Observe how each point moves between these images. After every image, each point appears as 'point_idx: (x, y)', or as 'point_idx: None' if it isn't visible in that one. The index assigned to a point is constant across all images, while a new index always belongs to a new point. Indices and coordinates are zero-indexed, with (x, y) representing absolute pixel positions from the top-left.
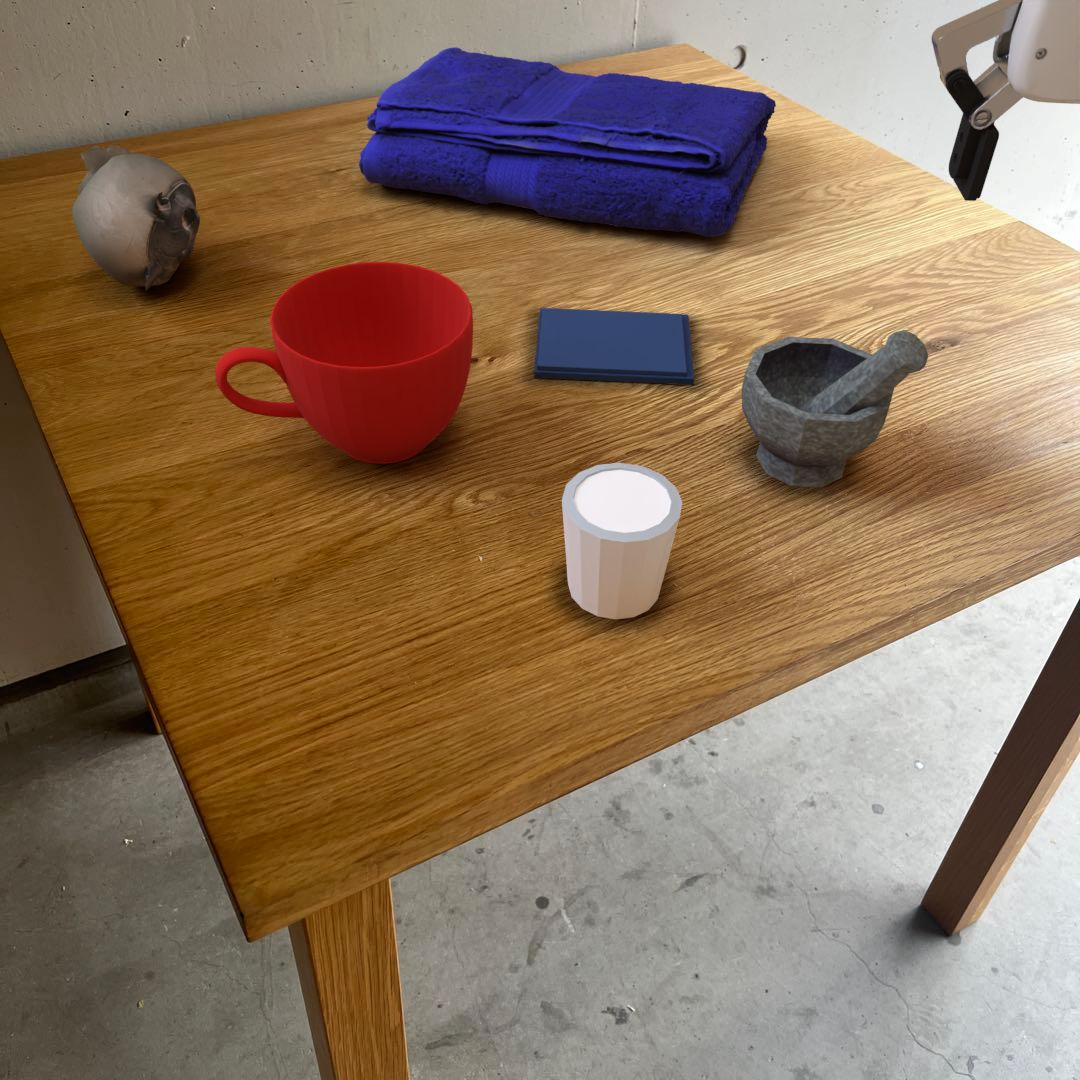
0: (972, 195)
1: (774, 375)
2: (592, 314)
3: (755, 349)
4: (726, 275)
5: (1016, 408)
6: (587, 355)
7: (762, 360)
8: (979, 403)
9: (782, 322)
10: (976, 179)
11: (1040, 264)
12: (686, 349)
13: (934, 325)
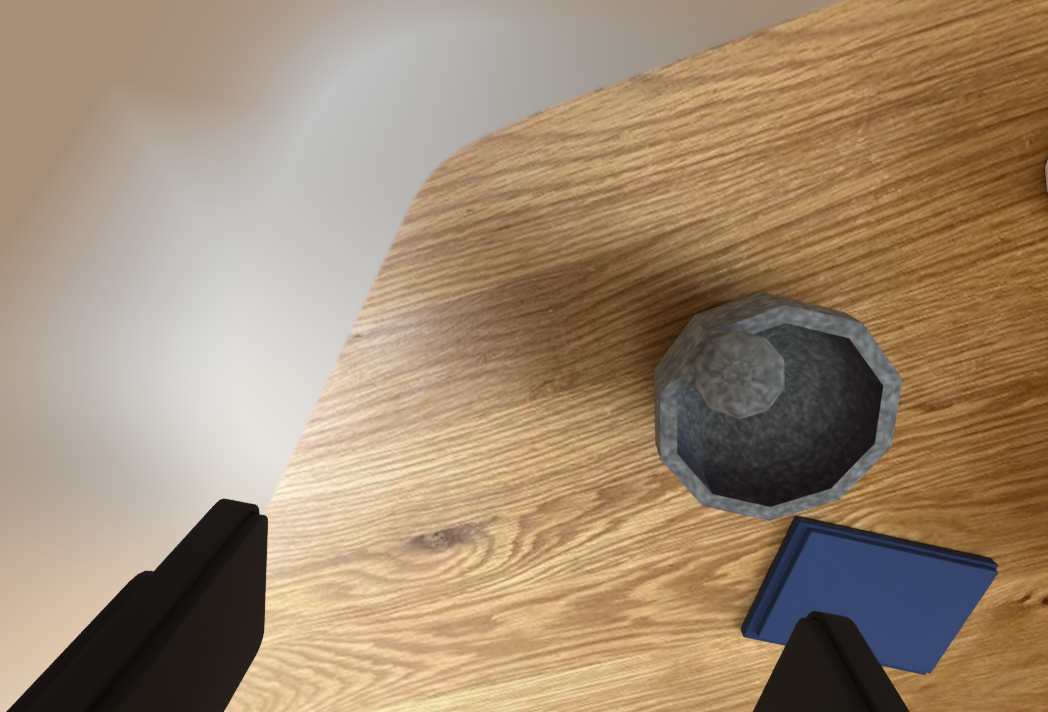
0: (845, 625)
1: (781, 468)
2: (873, 652)
3: (839, 499)
4: (647, 699)
5: (392, 410)
6: (923, 581)
7: (832, 478)
8: (437, 426)
9: (620, 609)
10: (877, 677)
11: None
12: (780, 575)
13: (426, 575)
